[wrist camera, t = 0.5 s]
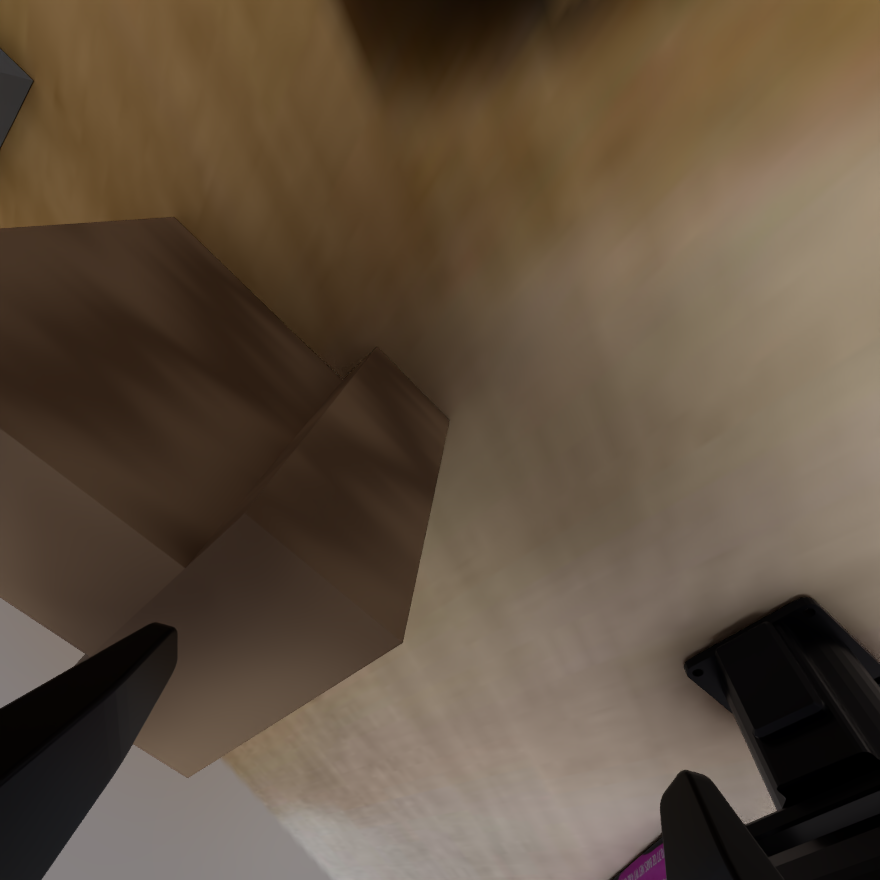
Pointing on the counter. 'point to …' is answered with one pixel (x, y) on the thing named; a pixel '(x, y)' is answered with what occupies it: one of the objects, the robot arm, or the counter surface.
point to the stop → (11, 92)
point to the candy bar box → (647, 865)
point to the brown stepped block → (200, 479)
